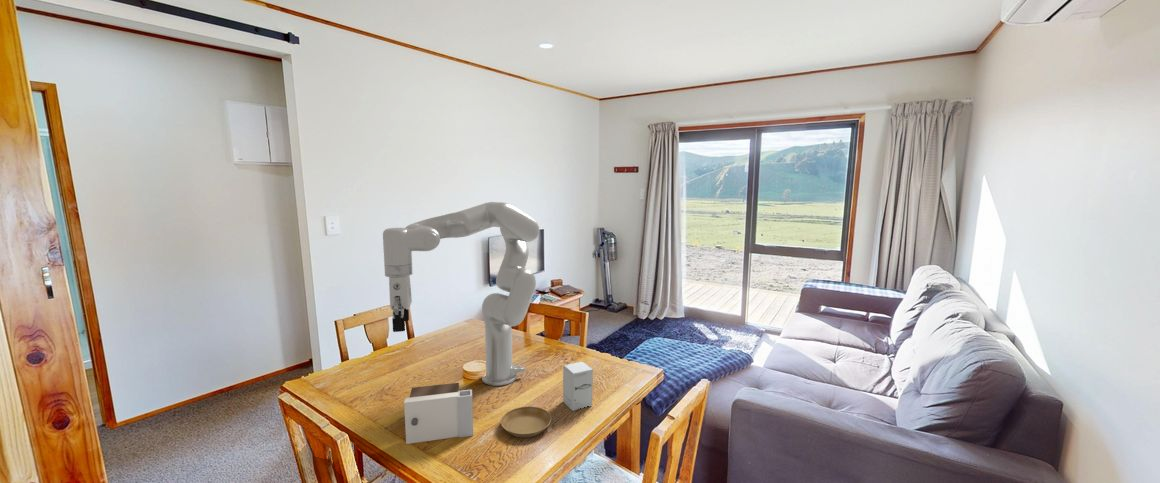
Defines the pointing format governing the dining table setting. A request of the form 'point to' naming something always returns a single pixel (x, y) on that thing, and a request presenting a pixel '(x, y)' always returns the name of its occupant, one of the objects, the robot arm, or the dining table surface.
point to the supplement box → (577, 385)
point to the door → (438, 416)
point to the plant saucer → (526, 421)
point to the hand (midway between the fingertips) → (401, 325)
